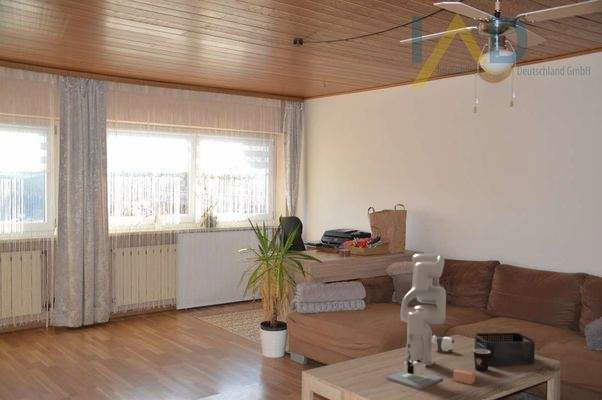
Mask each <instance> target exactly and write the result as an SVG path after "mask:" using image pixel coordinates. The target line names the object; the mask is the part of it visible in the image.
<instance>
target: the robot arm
mask: <svg viewBox="0 0 602 400" xmlns="http://www.w3.org/2000/svg"><path fill="white" fill-rule="evenodd" d="M444 257H445V256H443V255H442V254H441V253H440V254H437V253H415V254H414V255H413V256H412V258H411V259H412V260H411V262H412V266H413V272H412V281H411V282H412V284H411V289H410V290H409V291H408V292H407V293H406V294H405V295H404V297H403V298H402V301H401V308H400V320H401V321H402V322H404V323H407V327H406V330H407V331H406V332H407V336H406V338H407V340H406V345H405V346H406V347H405V357H404V362H406V363H407V365H408V367H407V372H408V373H410V374H413V362H414V361H416V362H420V363H424V364H426V367H427V366H432V365H435V360H434V359H433V358H432V345H433V342H432V337H433V334H432V333H433V332H432V328H431V326H430V325H431V324H433V325H443V324H444V323H445V322H446V304H447V303H446V301H447V293H446V289H445V288H444V287H443V286H438V285H437V286H435V285H433V284H434V283H433V282H434V281H433V279H439V278H441V276H442V275H443V270H444V267H445V258H444ZM415 298H416V300H417V301H418V302H419V303H422V305H421V304H419V305H415V306H414V307H408V304H409V302H410V301H411V300H414V299H415ZM423 303H424V304H425V305H424V304H423ZM426 304H434V305H426ZM429 324H430V325H429ZM410 361H411V362H410Z"/></svg>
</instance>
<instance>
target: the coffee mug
mask: <svg viewBox="0 0 602 400" xmlns="http://www.w3.org/2000/svg"><path fill="white" fill-rule="evenodd" d="M490 357H494V356H490V351H489V350H485V349H475V348H474V349H473V359H474V369H475V370H474V371H475V372H476V371H477V372H480V373H487V372H489V367H490V366H491V365H493V364H494V363H496V357H494V358H495V362H494V363H493V364H490V365H489V359H490Z"/></svg>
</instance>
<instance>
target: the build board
mask: <svg viewBox="0 0 602 400" xmlns="http://www.w3.org/2000/svg"><path fill="white" fill-rule="evenodd" d="M385 379H386V380H388V381H392V382H394V383H398V384H401V385H404V386H407V387H410V388H413V389H417V390H422V389H425V388H426V387H429V386H432V385H434V384H436V383H438V382H441V381H443V379H444V378H443V377H442V376H439V375H435V374H432V373H429V372H425V374H424V375H421V376H415V375H412V374H408V373H404V369H403V370H401V371H398V372H395V373H393V374H390V375H388V376H386V377H385Z"/></svg>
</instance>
